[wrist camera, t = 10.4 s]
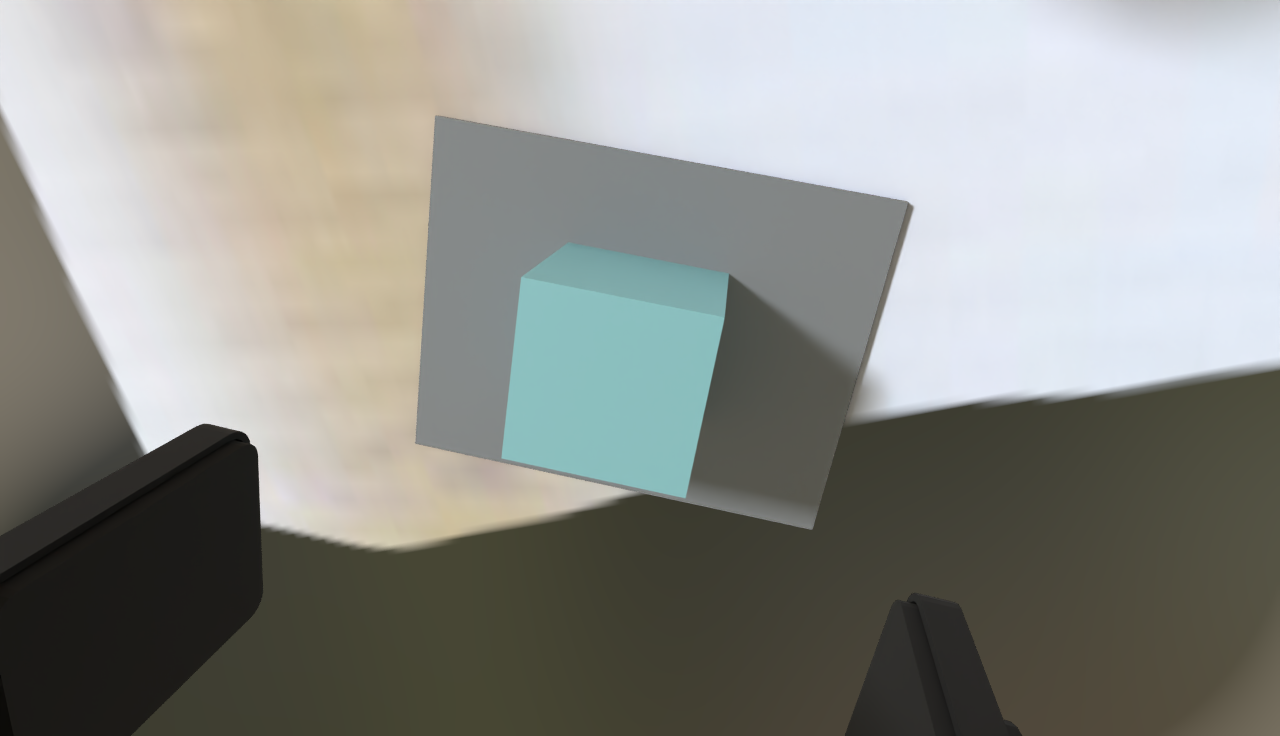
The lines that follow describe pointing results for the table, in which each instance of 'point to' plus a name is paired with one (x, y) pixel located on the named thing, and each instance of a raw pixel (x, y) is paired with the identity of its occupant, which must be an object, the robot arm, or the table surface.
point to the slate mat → (674, 232)
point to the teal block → (613, 366)
